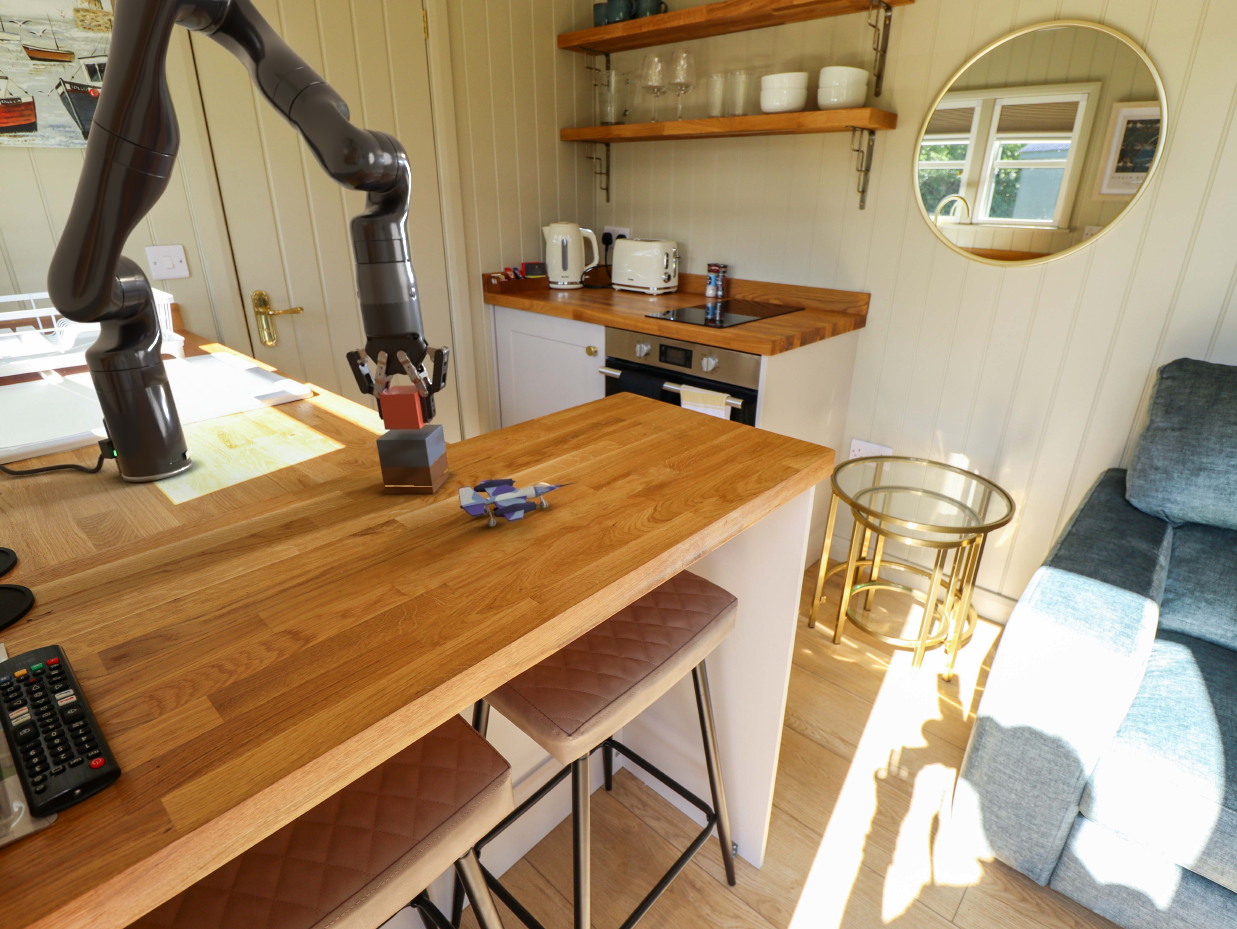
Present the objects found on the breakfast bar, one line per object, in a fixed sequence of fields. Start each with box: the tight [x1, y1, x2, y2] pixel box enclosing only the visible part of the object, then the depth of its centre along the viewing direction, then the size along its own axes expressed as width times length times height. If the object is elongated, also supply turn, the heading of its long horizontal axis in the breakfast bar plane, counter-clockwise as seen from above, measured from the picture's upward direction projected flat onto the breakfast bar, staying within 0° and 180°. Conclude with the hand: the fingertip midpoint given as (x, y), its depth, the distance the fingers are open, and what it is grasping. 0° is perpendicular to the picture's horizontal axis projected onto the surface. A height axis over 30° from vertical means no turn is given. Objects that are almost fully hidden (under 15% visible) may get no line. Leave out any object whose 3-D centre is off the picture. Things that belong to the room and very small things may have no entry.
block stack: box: [375, 424, 450, 495], centre depth 94 cm, size 7×7×8 cm
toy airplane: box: [458, 477, 579, 528], centre depth 84 cm, size 13×14×4 cm
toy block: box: [379, 384, 428, 431], centre depth 92 cm, size 5×5×5 cm
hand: (408, 421), depth 93 cm, fingers closed on toy block, 5 cm apart
